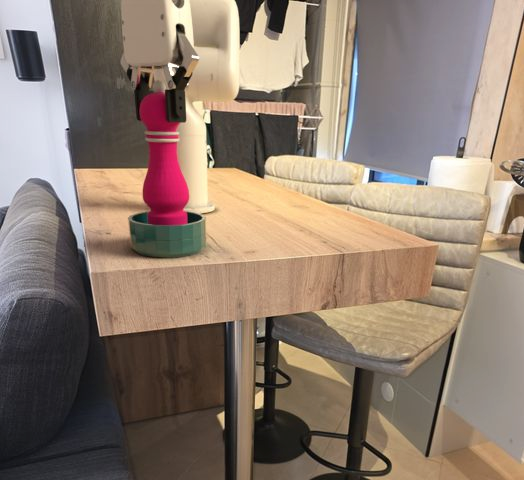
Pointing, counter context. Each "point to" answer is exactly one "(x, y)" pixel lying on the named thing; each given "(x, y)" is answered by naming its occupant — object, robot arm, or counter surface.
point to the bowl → (167, 236)
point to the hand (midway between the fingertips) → (161, 120)
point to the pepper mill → (162, 163)
